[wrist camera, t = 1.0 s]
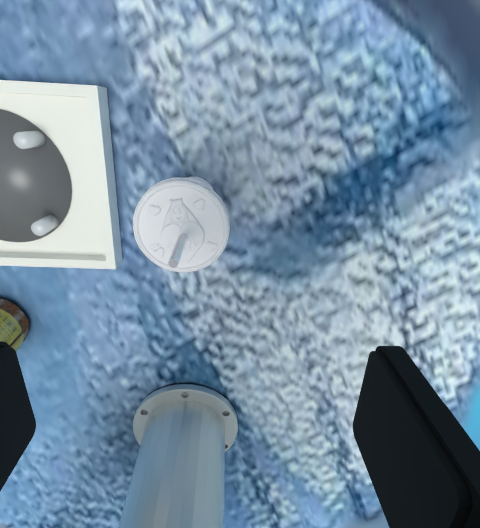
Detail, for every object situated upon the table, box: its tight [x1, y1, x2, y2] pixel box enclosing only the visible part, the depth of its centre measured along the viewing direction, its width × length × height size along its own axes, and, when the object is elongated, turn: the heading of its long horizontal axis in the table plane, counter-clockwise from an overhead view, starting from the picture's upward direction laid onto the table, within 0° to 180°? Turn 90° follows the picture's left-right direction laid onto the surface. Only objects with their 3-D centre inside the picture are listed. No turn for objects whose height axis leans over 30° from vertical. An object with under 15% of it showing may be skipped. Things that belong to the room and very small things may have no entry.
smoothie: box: [133, 176, 230, 272], centre depth 25 cm, size 6×6×14 cm
